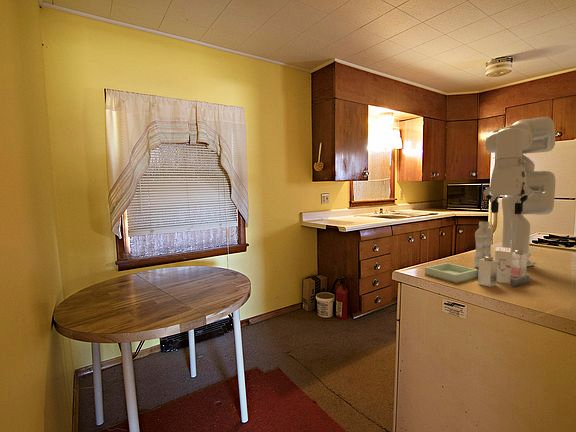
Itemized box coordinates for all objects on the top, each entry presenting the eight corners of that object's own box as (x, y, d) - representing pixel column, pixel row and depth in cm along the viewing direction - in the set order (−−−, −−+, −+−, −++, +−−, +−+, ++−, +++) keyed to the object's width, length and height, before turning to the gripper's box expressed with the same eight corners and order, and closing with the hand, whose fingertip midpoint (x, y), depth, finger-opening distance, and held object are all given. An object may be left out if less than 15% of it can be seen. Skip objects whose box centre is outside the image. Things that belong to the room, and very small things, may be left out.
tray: (446, 269, 126) (447, 262, 125) (478, 277, 114) (478, 269, 114) (424, 274, 119) (425, 267, 119) (455, 283, 108) (455, 275, 108)
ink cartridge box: (494, 276, 116) (496, 238, 114) (510, 278, 113) (512, 240, 111) (493, 281, 109) (495, 242, 108) (510, 284, 106) (512, 243, 104)
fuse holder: (502, 271, 121) (503, 247, 120) (539, 279, 110) (540, 253, 109) (466, 280, 110) (467, 254, 110) (503, 290, 99) (504, 261, 99)
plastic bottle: (492, 268, 127) (494, 221, 125) (489, 271, 122) (491, 223, 120) (475, 265, 131) (477, 220, 130) (471, 268, 126) (473, 222, 125)
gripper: (543, 162, 101) (540, 214, 102) (488, 165, 116) (487, 211, 118) (531, 161, 97) (528, 215, 99) (477, 165, 113) (475, 212, 114)
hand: (506, 213), depth 108 cm, fingers open, 6 cm apart
